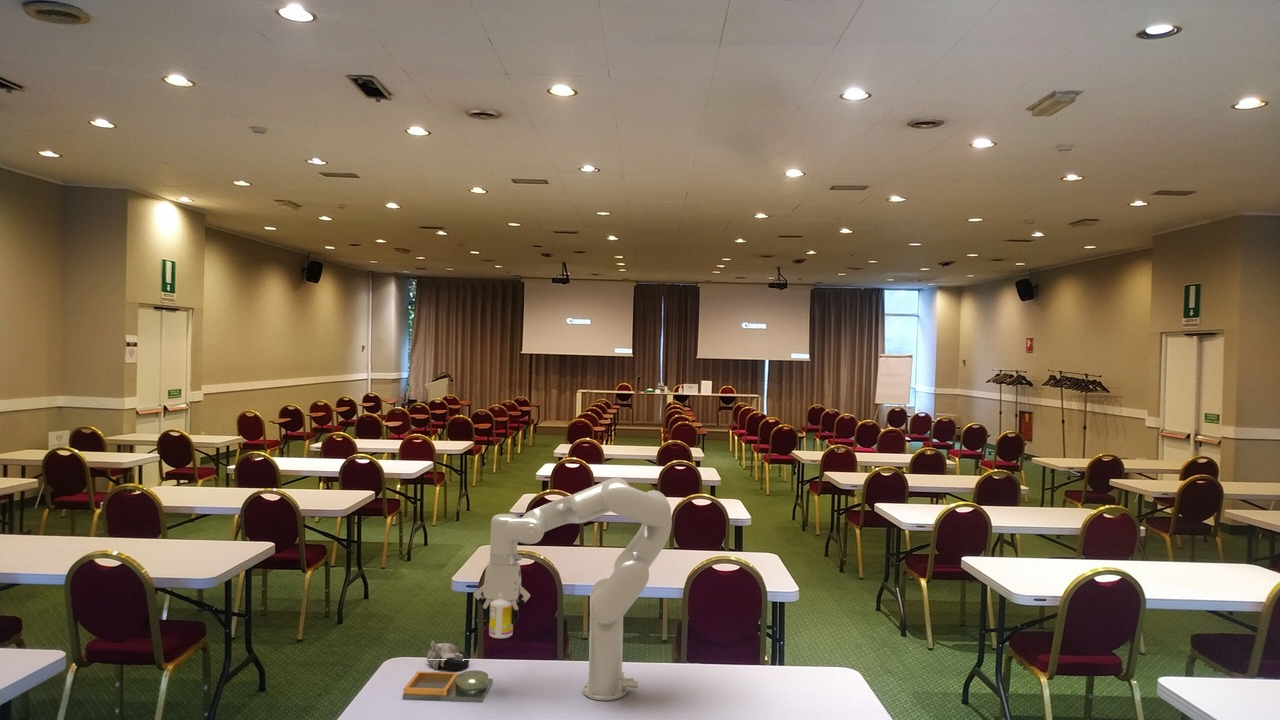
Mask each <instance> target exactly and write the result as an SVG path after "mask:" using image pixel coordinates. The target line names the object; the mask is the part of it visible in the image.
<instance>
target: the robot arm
mask: <svg viewBox="0 0 1280 720" xmlns="http://www.w3.org/2000/svg"><path fill="white" fill-rule="evenodd" d="M671 509H672V507H671V505H670V503H669V500H668V498H667V497H666V495H664V493H662V492H661V491H659V490H655V489H653V490H652V489H651V490H648V491H643V490H640V489H637V488H635V487H632V486H631V485H630V484H629V483H628V482H627V481H626V480H625V479H623V478H622V477H612V478H610V479H607V480H604V481H602V482H600V483H598V484H595V485H593V486H590V487H588V488H585V489H583V490H581V491H577V492H575V493H573V494H571V495H567V496H564V497H562V498H559V499H555V500H553V501H551V502H548V503H545V504H543V505H541V506H539V507H536V508H533V509H532V510H529V511H527V512H526V513H525V514H524V515H523V516H522V517H518V516H516V515H515V514H511V513H499V514H495V515H493V516H492V518H491V521H490V523H491V524H490V546H489V547H490V548H489V561H488V562H487V565H486V569H485V573H484V580H483V585H482V586H480V587H479V588H478V589H477V590H475V591H474V593H473V596H474V597H475V598H476V599H477V600H478V602H479V603H478V604H480V605H481V606H482V608H483V609H484V610H483V615H484V616H483V619H484V620H485V624H489V614H490V601H491V600H497V599H499V598H502V599H503V600H508V601H511V603H512V605H513V610H512V624H513V625H515V624H516V622H517V621H518V620H519V612H520V611H519V609H520V608H521V607H522V606H523V605H524V604H525V603H526V602H527V601H528V600H529V599H530V597H531V594H530V592H528V591H527V590H526V589H525V588H524V586H522V571H521V564H520V562H518V561H523V555H520V554H518V543H520V544H527V545H533V544H537V543H539V542H540V541H541V540H542V538H543V537H544V535H545V533H546V532H548V531H550V530H552V529H555V528H558V527H560V526H564V525H567V524H583V523H586V522H588V521H591V520H593V519H595V518H598V517H600V516H602V515H605V514H607V513H610V512H611V513H613V514H616V515H618V516H621V517H623V518H626V519H628V520H631V521H634V522H637V523H639V524H641V525H640V527H639V529H638V531H637V533H636V534H635V535H634V537H633V538H632V539H631V541H630V542H629V543H628V544H627V546H626V547H625V548H624V550H622V552H621V553H620V554H619V555H618V557H617V558H616V560H615V562H614V566H613V572H612V574H611V575H610V576H609V577H608V578H602V579H599V580H597V582H595V583H594V584H593V586H592V587H591V589H590V593H589V637H588V641H589V642H588V644H589V645H588V647H589V650H588V651H589V652H588V681H587V682H586V683H584V685H583V686H582V693H583V694H584V695H585V696H586V697H587V698H590V699H592V700H595V701H602V702H603V701H606V702H607V701H615V700H619V699H621V698H623V697H624V696H625V695H627V693H628V688H631V689H638V683H639V682H638V680H635V678H633V677H626V676H624V672H623V647H624V644H623V643H624V642H623V641H624V638H623V637H624V616H625V614H626V613H627V612H628V611H629V609H630V608H631V607H632V606H633V604H634V603H635V602H636V600H637V599H638V598H639V597H640V595H641V594H642V593H643V591H644V590H645V589H646V587H647V584H648V582H649V577H650V570H649V569H650V567H651V565H652V564H653V563H654V561H655V560H656V559H657V557H658V556H659V555H660V553H661V552H662V551H663V549H664V547H665V546H666V543H667V542H668V541H669V538H670V535H671V531H672V524H673V523H672V522H673V521H672V520H673V516H672V510H671ZM482 593H483V594H482ZM499 593H502V594H503V596H502V597H498V596H497V595H498V594H499ZM482 595H483V596H482ZM521 595H522V598H521V599H520V600H519V596H521Z"/></svg>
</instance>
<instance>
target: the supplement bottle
mask: <svg viewBox="0 0 1280 720" xmlns="http://www.w3.org/2000/svg"><path fill="white" fill-rule="evenodd" d="M497 596H498V597H502V596H503V594H502V593H499V594H498V595H497ZM512 610H513V605H512V603H511V601H508V600H503V599H502V598H499V599H497V600H491V601H490V614H489V623H488V634H489V636H490V637H491V638H494V639H507V638H510V637H511V636H513V632H514V624H512Z"/></svg>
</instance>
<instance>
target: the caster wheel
mask: <svg viewBox="0 0 1280 720" xmlns="http://www.w3.org/2000/svg"><path fill="white" fill-rule="evenodd" d="M428 648H429V649H428V652H427V657H426V659H447V660H426V659H425V661H426V662H427V661H428V662H427V663H428V664H429V665H430V667H432V668H433V670H435V669H436V670H437V671H438V668H439V666H441V667H442V668H446V669H448V670H452V671H457V672H458V671H459V672H460V670H461V671H464V670H466V669H467V668H468V667H469V663H470V660H464V661H462V660H463V659H471V657H470V656H469V655H468V654H467V653H466V652H464V651H462V650H459V649H458V647H457V646H456V645H455V644H454V643H451V642H443V643H435V641H434V640H431V642H430V645H429V647H428ZM465 668H466V669H465ZM463 669H464V670H463ZM436 670H435V671H436Z"/></svg>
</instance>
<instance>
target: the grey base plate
mask: <svg viewBox="0 0 1280 720" xmlns="http://www.w3.org/2000/svg"><path fill="white" fill-rule="evenodd" d="M493 683H494V678H489V674H488V672H486V671H484V670H483V671H482V670H475V669H474V670H466V671H463V672H460V673H459V672H446V671H444V672H442V671H416V673H415V674H414V675H413V677H412V678H411V679H410V680H409V681H408V683H407V684H406V685H405V686H404V687H403V694H402V700H405V701H406V700H410V701H411V700H412V701H432V702H433V701H438V702H439V701H440V702H461V703H462V702H464V703H465V702H466V703H468V702H470V703H483V701H484V700H483V699H485V698H486V696H487V694H488V692H489V691H488V690H490V689H491V687H492V684H493ZM484 697H485V698H484Z"/></svg>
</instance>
